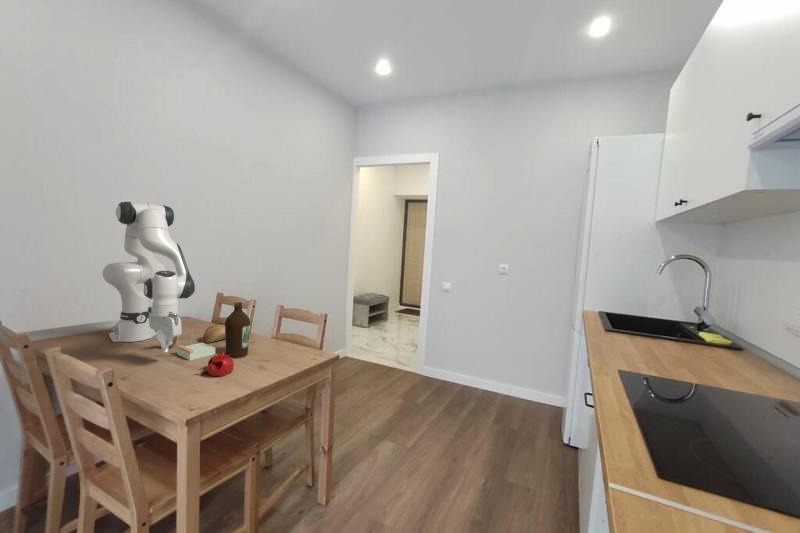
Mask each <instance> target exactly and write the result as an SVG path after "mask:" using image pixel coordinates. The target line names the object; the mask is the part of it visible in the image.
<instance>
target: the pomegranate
mask: <svg viewBox="0 0 800 533" xmlns="http://www.w3.org/2000/svg"><path fill="white" fill-rule="evenodd" d="M228 355H232V354H228ZM234 369H235V363H234V358H231V357H230V356H227V355H226V354H225V352H224V350H223V351H222V350H221V351H220V353H217V355H216V354H214V355H213V356H212V355H210V359H209V360H208V362H207V367H206V370H207V373H208V375H211V376H213V377H223V376H226V375H227V376H228V375H229V374H230V373H232V372H233V371H234Z"/></svg>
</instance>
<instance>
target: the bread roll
mask: <svg viewBox="0 0 800 533" xmlns="http://www.w3.org/2000/svg"><path fill="white" fill-rule="evenodd" d="M223 340H225V324H224V325H223V324H215V325H214V324H213V325H210V326H208V327H207V328H206V329H205V331H204V333H203V334H202V341H203V343H205V344H207V343H208V344H209V343H213V342H217V341H219V342H220V341H223Z"/></svg>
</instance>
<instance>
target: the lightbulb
mask: <svg viewBox="0 0 800 533" xmlns="http://www.w3.org/2000/svg"><path fill="white" fill-rule="evenodd" d="M155 332H156V335H155V338H156V340H157V342H160V343H159V346H160V345H161V346H160V347H161V352H160V353H163V354H166V353H168V352H170V348H169V345H167V344H166V341H167V338H168V337H167V335H165V334H163V332H162V330H161V329H159V330H158V331H155Z"/></svg>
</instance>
